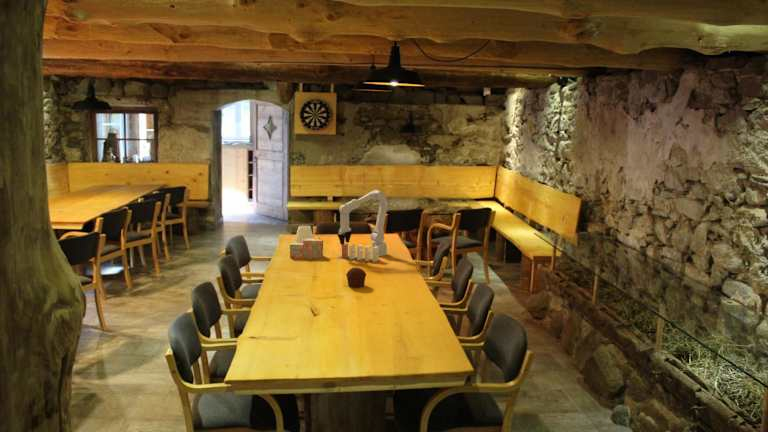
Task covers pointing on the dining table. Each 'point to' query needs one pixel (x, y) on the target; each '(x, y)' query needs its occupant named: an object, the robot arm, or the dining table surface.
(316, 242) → the stack of blocks
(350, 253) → the ivory domino
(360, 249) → the ivory domino
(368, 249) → the ivory domino
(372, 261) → the domino mat
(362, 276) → the muffin
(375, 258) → the ivory domino
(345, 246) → the red domino
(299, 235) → the cup
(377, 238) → the robot arm
